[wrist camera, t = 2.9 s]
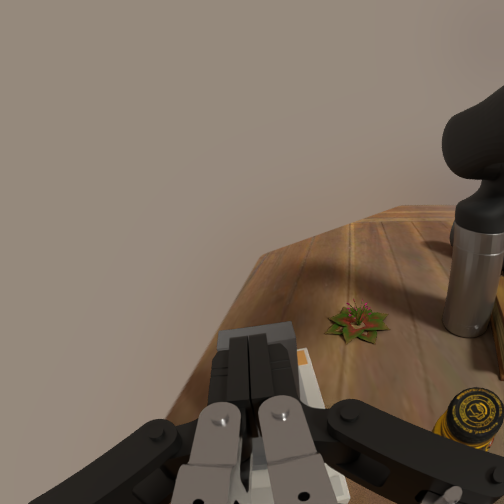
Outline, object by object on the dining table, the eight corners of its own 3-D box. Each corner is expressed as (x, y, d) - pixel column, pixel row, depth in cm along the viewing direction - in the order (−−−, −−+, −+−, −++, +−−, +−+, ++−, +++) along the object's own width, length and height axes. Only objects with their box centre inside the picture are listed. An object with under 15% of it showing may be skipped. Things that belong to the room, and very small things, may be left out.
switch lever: (309, 463, 22) (306, 345, 16) (247, 471, 22) (207, 359, 17) (303, 433, 25) (295, 312, 20) (246, 440, 26) (212, 323, 20)
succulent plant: (381, 355, 38) (384, 331, 36) (311, 339, 45) (310, 316, 44) (398, 314, 47) (400, 291, 45) (339, 304, 54) (338, 283, 52)
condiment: (389, 489, 18) (425, 427, 14) (428, 432, 23) (461, 357, 19) (445, 513, 12) (506, 456, 8) (478, 451, 17) (526, 377, 13)
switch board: (347, 503, 18) (351, 494, 17) (221, 519, 18) (213, 511, 17) (307, 357, 40) (306, 342, 39) (226, 369, 41) (222, 354, 40)
